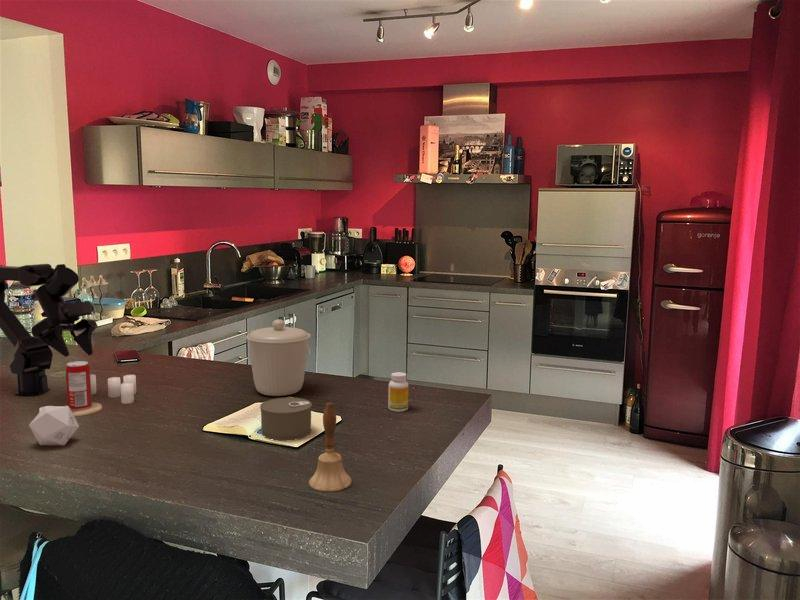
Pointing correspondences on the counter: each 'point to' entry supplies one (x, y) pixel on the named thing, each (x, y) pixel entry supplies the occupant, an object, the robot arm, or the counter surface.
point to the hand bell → (330, 459)
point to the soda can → (78, 385)
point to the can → (286, 418)
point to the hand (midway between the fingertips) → (79, 355)
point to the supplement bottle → (398, 392)
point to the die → (54, 425)
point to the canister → (278, 358)
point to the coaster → (88, 410)
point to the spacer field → (117, 388)
